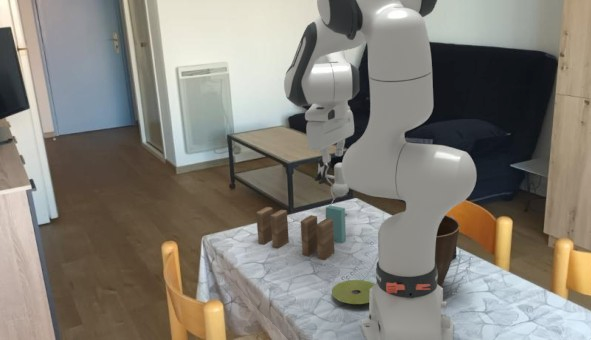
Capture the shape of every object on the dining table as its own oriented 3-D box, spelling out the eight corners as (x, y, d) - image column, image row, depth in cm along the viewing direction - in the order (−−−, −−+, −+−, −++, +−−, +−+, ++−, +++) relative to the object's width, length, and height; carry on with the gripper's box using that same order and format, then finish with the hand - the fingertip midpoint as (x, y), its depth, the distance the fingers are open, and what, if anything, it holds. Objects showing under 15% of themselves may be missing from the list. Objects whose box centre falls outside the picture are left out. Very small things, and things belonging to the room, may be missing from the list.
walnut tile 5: (334, 254, 154) (333, 219, 151) (324, 261, 150) (322, 225, 147) (328, 252, 155) (326, 218, 152) (318, 259, 151) (316, 224, 149)
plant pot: (465, 279, 136) (467, 217, 132) (447, 309, 124) (448, 240, 120) (405, 268, 144) (405, 208, 139) (382, 294, 131) (381, 230, 127)
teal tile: (330, 238, 165) (329, 205, 162) (345, 241, 162) (344, 208, 159) (326, 240, 163) (325, 207, 160) (342, 243, 160) (341, 210, 158)
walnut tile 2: (288, 243, 163) (286, 210, 160) (278, 250, 159) (276, 216, 156) (283, 242, 164) (281, 209, 161) (272, 248, 160) (270, 215, 157)
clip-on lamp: (315, 213, 185) (312, 159, 180) (328, 207, 189) (326, 155, 184) (342, 221, 176) (340, 165, 171) (355, 215, 181) (354, 160, 176)
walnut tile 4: (318, 250, 157) (317, 216, 154) (308, 257, 153) (306, 222, 150) (312, 249, 158) (310, 215, 155) (302, 255, 154) (300, 221, 151)
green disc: (345, 282, 138) (345, 275, 137) (389, 293, 132) (389, 285, 132) (323, 304, 129) (322, 296, 128) (368, 316, 123) (368, 307, 123)
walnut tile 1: (274, 240, 165) (272, 207, 163) (264, 246, 161) (261, 213, 159) (269, 239, 166) (266, 206, 164) (258, 245, 163) (256, 212, 160)
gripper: (338, 101, 162) (340, 148, 166) (301, 115, 145) (304, 167, 149) (359, 102, 159) (360, 150, 162) (322, 116, 142) (325, 169, 146)
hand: (333, 158), depth 156 cm, fingers open, 5 cm apart
